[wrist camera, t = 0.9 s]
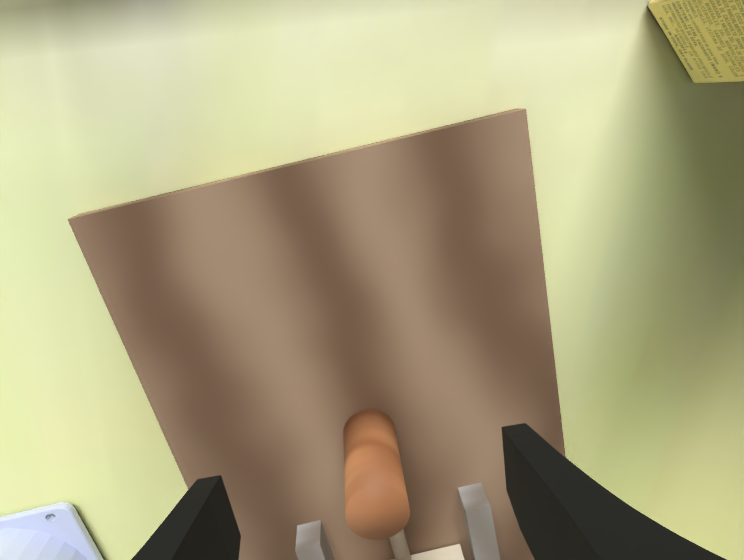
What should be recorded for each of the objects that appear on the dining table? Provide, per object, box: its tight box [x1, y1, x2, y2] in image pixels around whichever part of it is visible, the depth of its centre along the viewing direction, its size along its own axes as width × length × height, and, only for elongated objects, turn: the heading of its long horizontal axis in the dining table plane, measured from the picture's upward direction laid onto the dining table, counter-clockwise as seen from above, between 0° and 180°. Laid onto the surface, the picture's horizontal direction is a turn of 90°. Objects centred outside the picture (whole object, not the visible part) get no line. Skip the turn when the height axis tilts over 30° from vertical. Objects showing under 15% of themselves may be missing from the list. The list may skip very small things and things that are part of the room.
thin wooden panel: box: [68, 109, 565, 560], centre depth 25 cm, size 18×36×2 cm, turn 13°
